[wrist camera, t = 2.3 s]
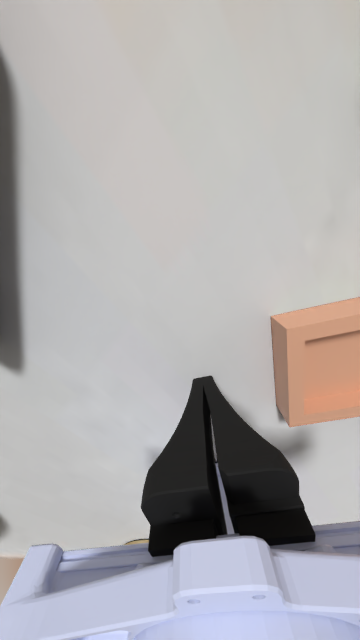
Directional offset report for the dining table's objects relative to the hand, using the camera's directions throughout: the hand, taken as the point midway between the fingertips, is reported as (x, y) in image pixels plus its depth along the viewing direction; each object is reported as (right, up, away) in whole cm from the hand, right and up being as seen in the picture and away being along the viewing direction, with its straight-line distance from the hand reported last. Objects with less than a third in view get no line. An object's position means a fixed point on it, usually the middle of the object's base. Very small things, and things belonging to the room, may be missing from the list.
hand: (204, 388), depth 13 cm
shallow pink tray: (+11, +3, 0) cm, 11 cm away
